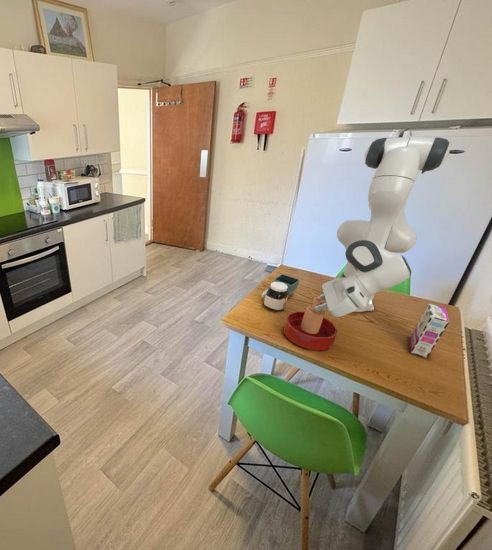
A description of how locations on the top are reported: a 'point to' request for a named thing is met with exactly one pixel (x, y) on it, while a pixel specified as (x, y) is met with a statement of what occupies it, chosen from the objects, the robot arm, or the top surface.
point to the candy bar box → (429, 330)
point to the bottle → (312, 318)
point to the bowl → (308, 340)
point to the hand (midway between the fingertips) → (314, 306)
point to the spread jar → (276, 296)
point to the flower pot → (288, 282)
